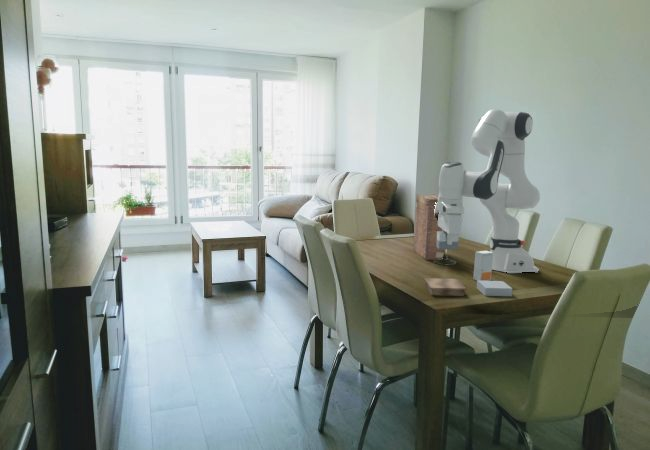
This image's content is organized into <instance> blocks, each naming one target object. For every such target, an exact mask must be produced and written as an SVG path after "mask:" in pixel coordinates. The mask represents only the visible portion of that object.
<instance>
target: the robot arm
mask: <svg viewBox="0 0 650 450" xmlns="http://www.w3.org/2000/svg"><path fill="white" fill-rule="evenodd" d="M533 123H534V122H533V117H532V115H531V114H529V113H527V112H522V111H520V112H516V111H503V110H501V109H497V108H492V109H489V110H488V111H487V112H485V114H483V115H482V116H481V117H480V118H479V119H478V123H477V125H476V127H475V128H474V131H473V132H472V134H471V138H470V140H471V145H472V147H473V148H474V150H476V152H478V154H481V155H483V156H486V157H488V158H489V159H488V162H487V165H486V169H485V170H482V171H468V170H466V169H464V165H463V163H462V162H459V161H449V162H445V163H443V164H442V165H441V168H440V171H439V176H438V177H439V178H438V191H439V192H438V195H437V196H438V204H437V210H438V211H439V214H438V226H439V227H440V228H441V229H442V231H446V232H447V235H448V236H447V240H446V241H447V242H446V243H447V244H448V245H451V244H452V240H453V237H454V235H460V233H461V230H462V222H463V215H464V214H465V208H464V206H463V197H466V198H475V199H478V200H479V202H480V203H481V204H482V205H483V206H484V207H485V208H486V209H487V211H488V212H489V213H490V216H491V219H492V234H491V238H490V244H489V245H490V251H489V252H492V253H493V262H492V271H493V270H494V271H498V272H504V273H506V272H507V274H523V273H522V272H535V273H539V272H538V271H540V269H539V268H538V267H537V266H535V262H534V258H533V256H532V255H531V254H530V253H529V252H528V251H526V250H525V249H524V248H523V247H522V246H526V244H527V242H526V241H525V240H521V239H519V233H520V232H519V230H520V223H519V221H518V219H517V218H516V217H514V216H513V215H511V214H509V213H508V211H507V209H516V210H526V209H528V210H529V209H534V208H535V207H536V206H537V205H538V204H539V202H540V199H541V196H540V195H541V194H540V190H539V189H538V188H537V186H535V185H534V184H532V182H531V181H530V180H529V179H528V177H527V174H526V170H525V153H526V142H525V139H526V138H527V137H529V136H530V134H531V133H532V130H533ZM500 175H501V176H504V177H505V178H507V179H508V180H509V182H510V183H500V182H499V177H500Z"/></svg>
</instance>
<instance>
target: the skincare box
mask: <svg viewBox="0 0 650 450" xmlns="http://www.w3.org/2000/svg"><path fill="white" fill-rule="evenodd" d="M474 255H475V256H474V265H473V266H474V268H473V277H472V278H473V280H474V281H477V280H479V281H492V271H493V270H492V262H493V253H492V252H490V251H489V250H480V251H478V250H477V251H475V254H474Z"/></svg>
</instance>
